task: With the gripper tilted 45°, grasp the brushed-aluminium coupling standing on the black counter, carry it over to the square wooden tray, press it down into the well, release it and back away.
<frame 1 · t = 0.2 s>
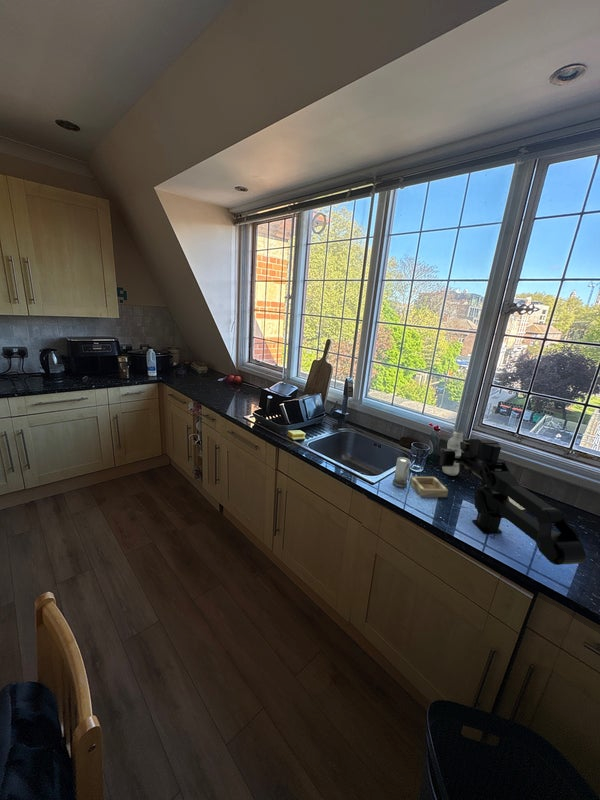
hand: (451, 449, 127), 17 cm above the worktop, tool horizontal, fingers open, 9 cm apart
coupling: (399, 484, 131), on the worktop
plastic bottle: (449, 474, 143), on the worktop
square wooden tray: (427, 489, 128), on the worktop
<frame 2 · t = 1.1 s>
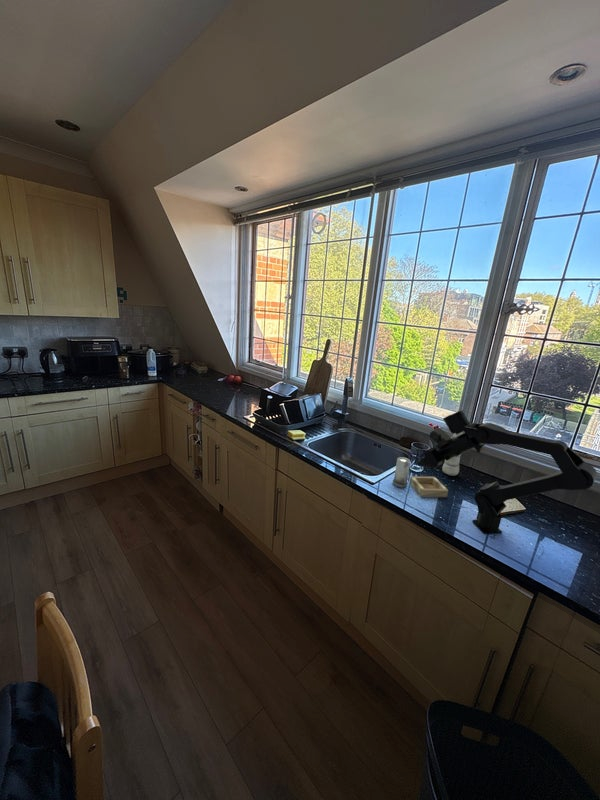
hand: (424, 461, 121), 14 cm above the worktop, tool tilted 45°, fingers open, 9 cm apart
nothing on the worktop moved.
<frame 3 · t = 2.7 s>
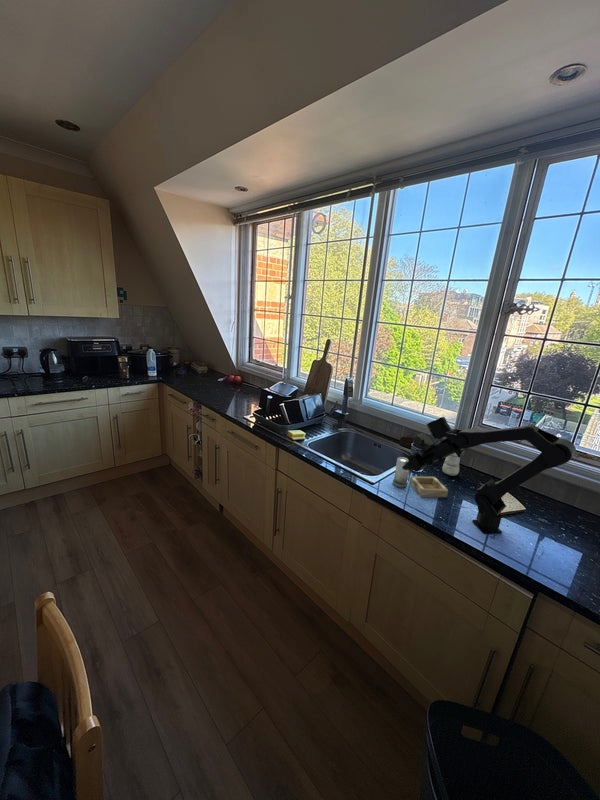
hand: (409, 465, 126), 10 cm above the worktop, tool tilted 45°, fingers open, 9 cm apart
nothing on the worktop moved.
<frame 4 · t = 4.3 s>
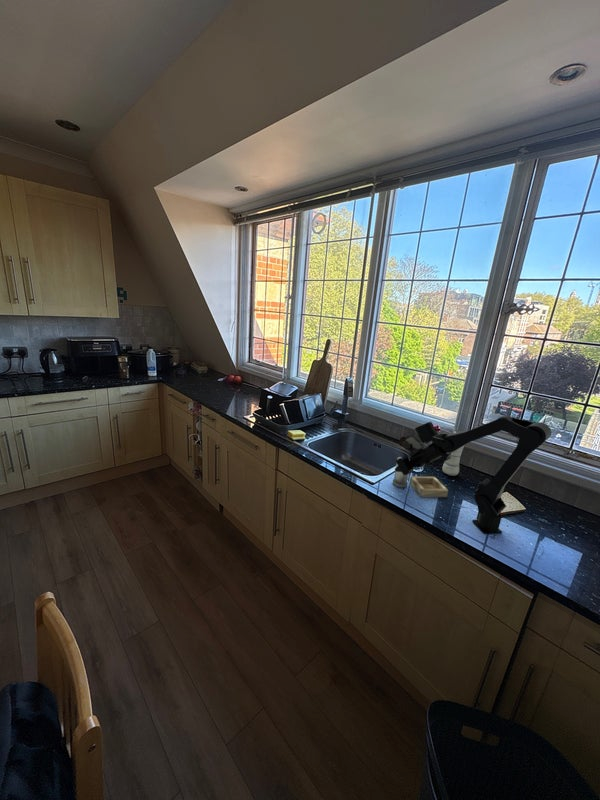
hand: (399, 468, 130), 7 cm above the worktop, tool tilted 45°, fingers closed on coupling, 5 cm apart
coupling: (399, 484, 131), on the worktop, touching gripper
everything else where it was.
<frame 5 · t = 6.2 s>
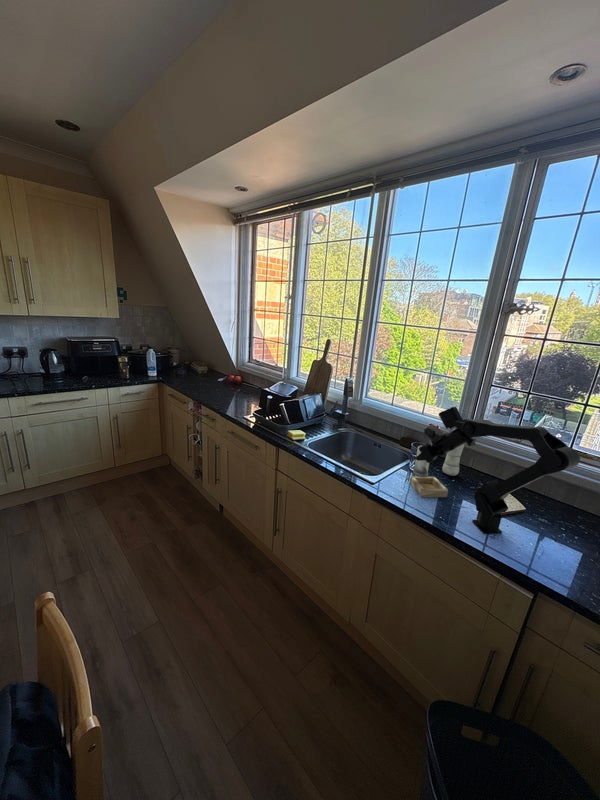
hand: (419, 457, 126), 13 cm above the worktop, tool tilted 45°, fingers closed on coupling, 5 cm apart
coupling: (420, 474, 127), point 6 cm above the worktop, touching gripper
everything else where it was.
when the fingers open (8 cm above the worktop, at t = 8.2 s): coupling stays where it is, resting on square wooden tray.
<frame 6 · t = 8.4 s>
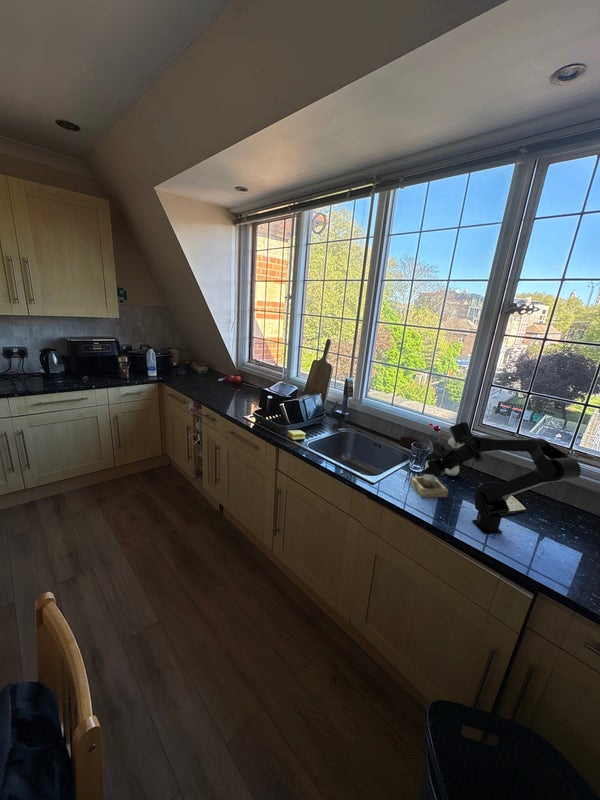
hand: (427, 470, 127), 8 cm above the worktop, tool tilted 45°, fingers open, 7 cm apart
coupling: (427, 488, 128), point 1 cm above the worktop, touching square wooden tray
everything else where it was.
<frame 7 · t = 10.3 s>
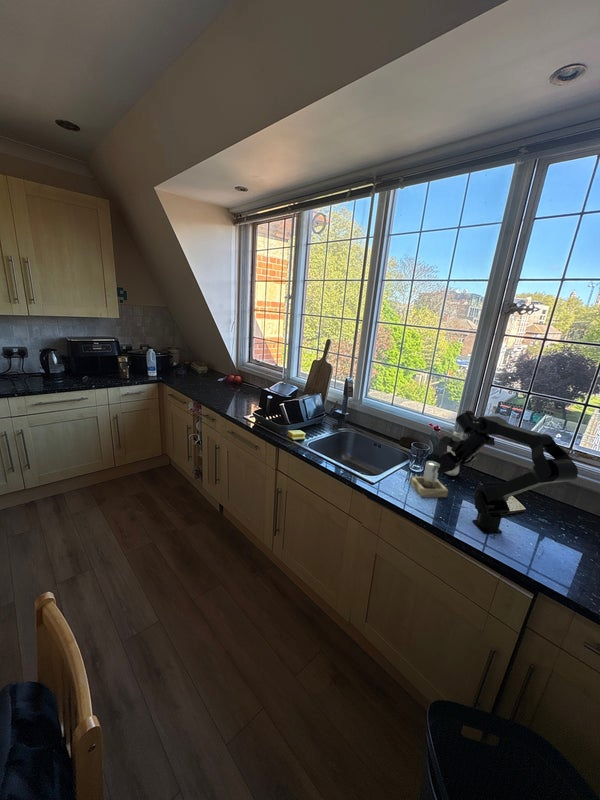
hand: (444, 470, 122), 11 cm above the worktop, tool tilted 30°, fingers open, 9 cm apart
nothing on the worktop moved.
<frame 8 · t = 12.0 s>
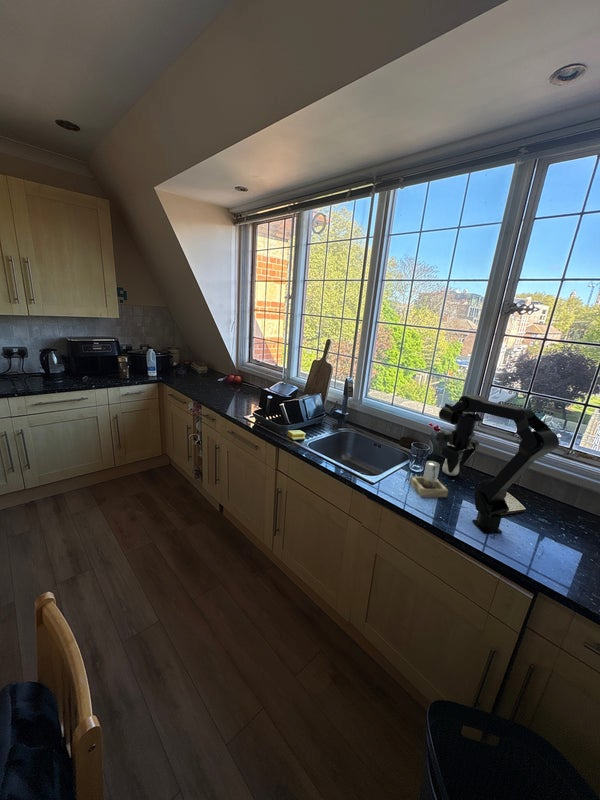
hand: (455, 469, 119), 13 cm above the worktop, tool pointing down, fingers open, 9 cm apart
nothing on the worktop moved.
at the end: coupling 0.1 cm off-centre on the square wooden tray, point 0.5 cm above the square wooden tray's base; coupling tilted 0°; the gripper is holding nothing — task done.
